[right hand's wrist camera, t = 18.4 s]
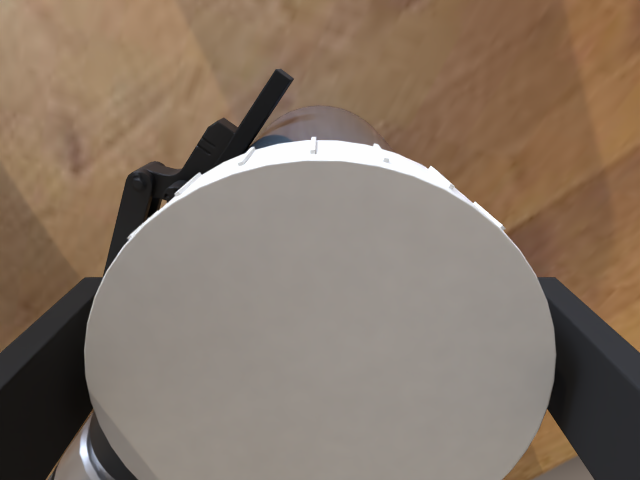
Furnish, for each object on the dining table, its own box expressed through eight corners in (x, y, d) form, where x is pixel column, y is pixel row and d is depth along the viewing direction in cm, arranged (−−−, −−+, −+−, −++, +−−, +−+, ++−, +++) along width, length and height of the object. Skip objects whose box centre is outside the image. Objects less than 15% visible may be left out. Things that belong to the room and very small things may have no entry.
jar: (250, 253, 30) (151, 516, 13) (239, 106, 27) (84, 182, 9) (391, 251, 30) (493, 512, 13) (398, 104, 27) (551, 175, 9)
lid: (588, 350, 13) (646, 411, 10) (303, 526, 15) (300, 606, 13) (347, 34, 10) (355, 25, 8) (44, 315, 12) (-19, 371, 10)
